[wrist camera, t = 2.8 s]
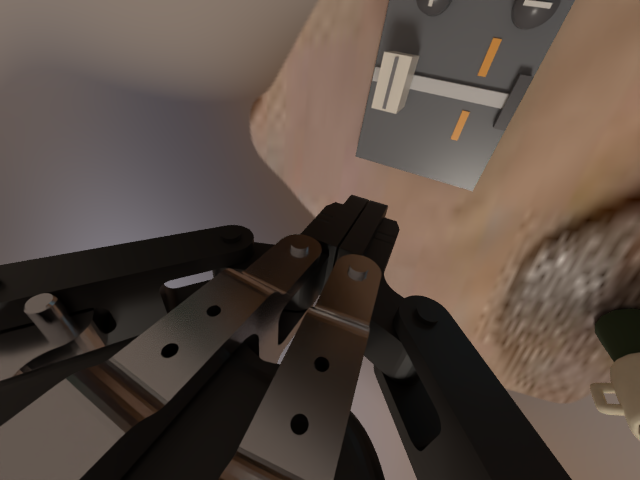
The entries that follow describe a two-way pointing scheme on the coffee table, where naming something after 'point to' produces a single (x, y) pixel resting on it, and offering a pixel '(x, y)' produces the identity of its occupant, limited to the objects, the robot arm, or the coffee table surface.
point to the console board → (457, 82)
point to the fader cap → (394, 81)
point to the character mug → (621, 365)
